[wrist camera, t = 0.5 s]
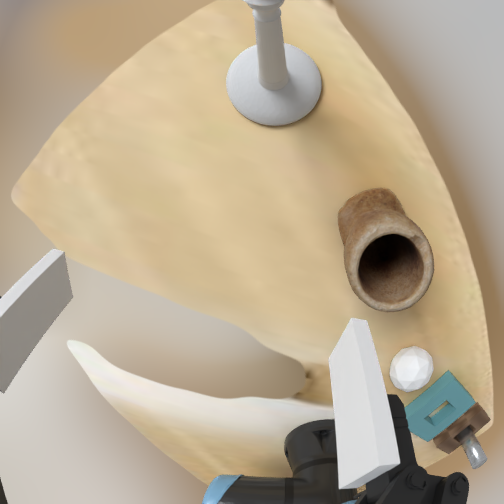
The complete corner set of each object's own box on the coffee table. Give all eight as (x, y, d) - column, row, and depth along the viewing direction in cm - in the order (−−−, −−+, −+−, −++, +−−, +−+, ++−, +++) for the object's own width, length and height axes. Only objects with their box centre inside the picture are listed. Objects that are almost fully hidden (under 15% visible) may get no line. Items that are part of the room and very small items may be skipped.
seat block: (423, 433, 48) (427, 441, 45) (395, 414, 47) (399, 424, 44) (470, 394, 45) (475, 402, 42) (448, 370, 43) (454, 378, 40)
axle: (457, 432, 48) (475, 470, 35) (452, 429, 48) (470, 467, 34) (469, 423, 47) (488, 459, 34) (464, 418, 47) (485, 456, 33)
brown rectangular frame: (445, 446, 50) (448, 454, 47) (432, 438, 49) (436, 447, 46) (486, 412, 46) (490, 419, 43) (477, 402, 45) (482, 409, 42)
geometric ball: (395, 341, 46) (409, 336, 38) (429, 357, 43) (448, 355, 35) (376, 379, 44) (387, 382, 36) (412, 395, 41) (428, 400, 34)
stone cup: (313, 211, 39) (332, 234, 24) (389, 178, 36) (443, 183, 22) (351, 304, 42) (378, 363, 27) (419, 272, 39) (469, 315, 25)
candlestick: (271, 144, 37) (242, 58, 8) (208, 82, 35) (83, -44, 6) (340, 87, 34) (439, -49, 5) (275, 29, 32) (258, -136, 3)
